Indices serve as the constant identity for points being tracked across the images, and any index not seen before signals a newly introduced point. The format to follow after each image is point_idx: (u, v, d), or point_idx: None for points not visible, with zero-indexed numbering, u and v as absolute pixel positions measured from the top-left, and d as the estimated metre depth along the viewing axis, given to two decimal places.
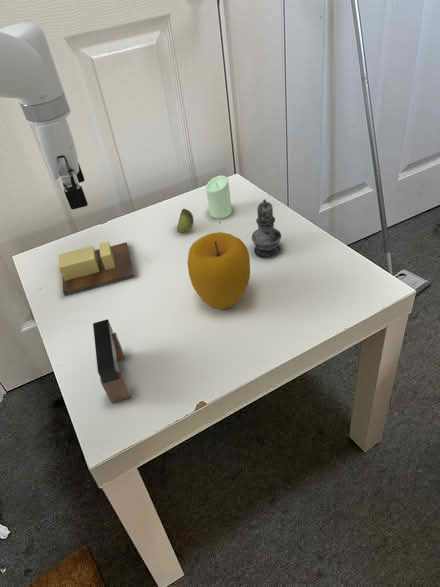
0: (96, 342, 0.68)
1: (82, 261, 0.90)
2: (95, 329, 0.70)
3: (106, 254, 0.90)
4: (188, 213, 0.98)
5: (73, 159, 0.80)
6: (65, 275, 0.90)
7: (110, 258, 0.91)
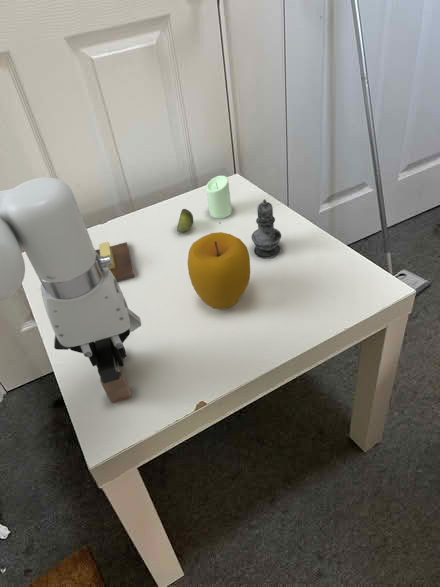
0: (96, 342, 0.68)
1: None
2: None
3: (106, 254, 0.90)
4: (188, 213, 0.98)
5: (56, 335, 0.62)
6: None
7: (110, 258, 0.91)
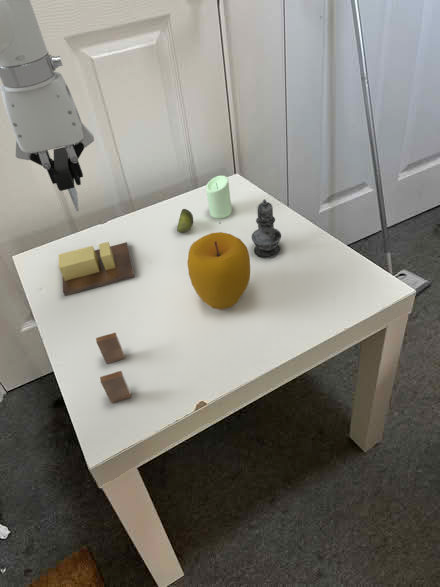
0: (55, 159, 0.76)
1: (82, 261, 0.90)
2: (55, 152, 0.78)
3: (106, 254, 0.90)
4: (188, 213, 0.98)
5: (15, 136, 0.70)
6: (65, 275, 0.90)
7: (110, 258, 0.91)
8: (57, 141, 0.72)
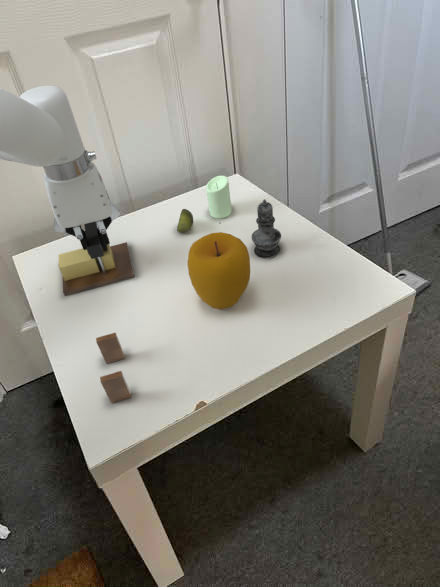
0: (86, 230, 0.88)
1: (82, 261, 0.90)
2: None
3: (106, 254, 0.90)
4: (188, 213, 0.98)
5: (55, 215, 0.82)
6: (65, 275, 0.90)
7: (110, 258, 0.91)
8: (90, 218, 0.84)
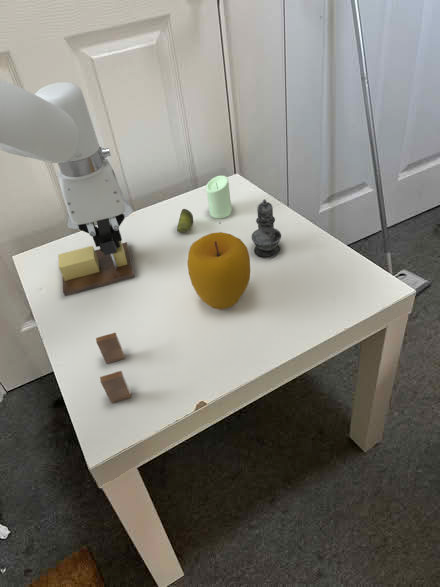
0: (98, 226, 0.89)
1: (82, 261, 0.90)
2: None
3: (118, 251, 0.91)
4: (188, 213, 0.98)
5: (69, 212, 0.82)
6: (65, 275, 0.90)
7: (122, 255, 0.91)
8: (103, 215, 0.84)
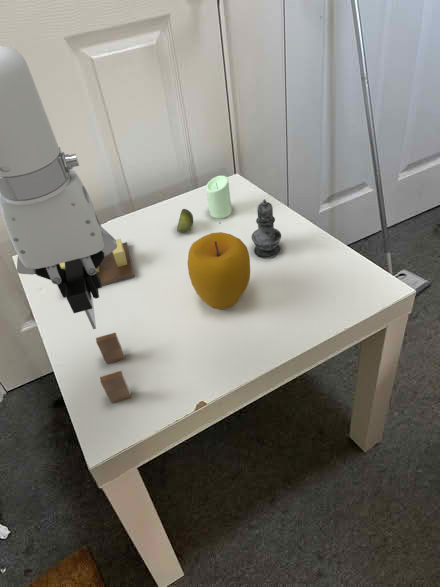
0: (66, 269, 0.60)
1: None
2: None
3: (118, 251, 0.91)
4: (188, 213, 0.98)
5: (17, 252, 0.54)
6: None
7: (122, 255, 0.91)
8: (71, 254, 0.56)
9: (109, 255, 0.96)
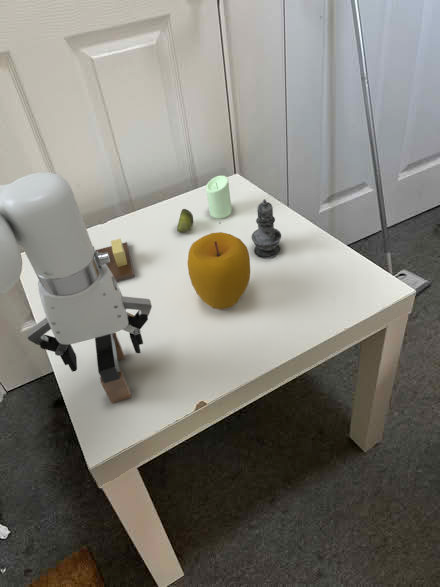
0: (97, 342, 0.68)
1: None
2: None
3: (118, 251, 0.91)
4: (188, 213, 0.98)
5: (53, 332, 0.61)
6: None
7: (122, 255, 0.91)
8: (99, 332, 0.63)
9: (109, 255, 0.96)
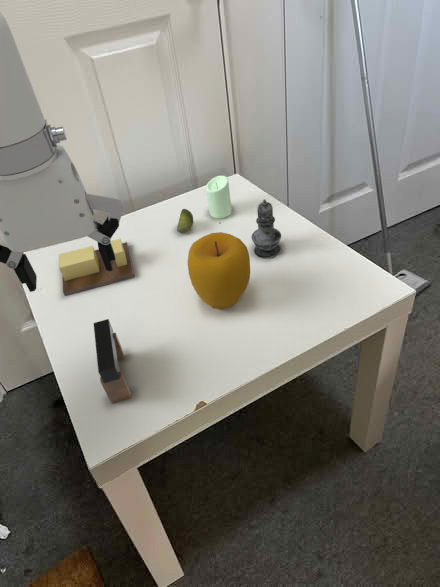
0: (97, 342, 0.68)
1: (82, 261, 0.90)
2: (96, 329, 0.70)
3: (118, 251, 0.91)
4: (188, 213, 0.98)
5: (1, 233, 0.50)
6: (65, 275, 0.90)
7: (122, 255, 0.91)
8: (59, 237, 0.52)
9: None
